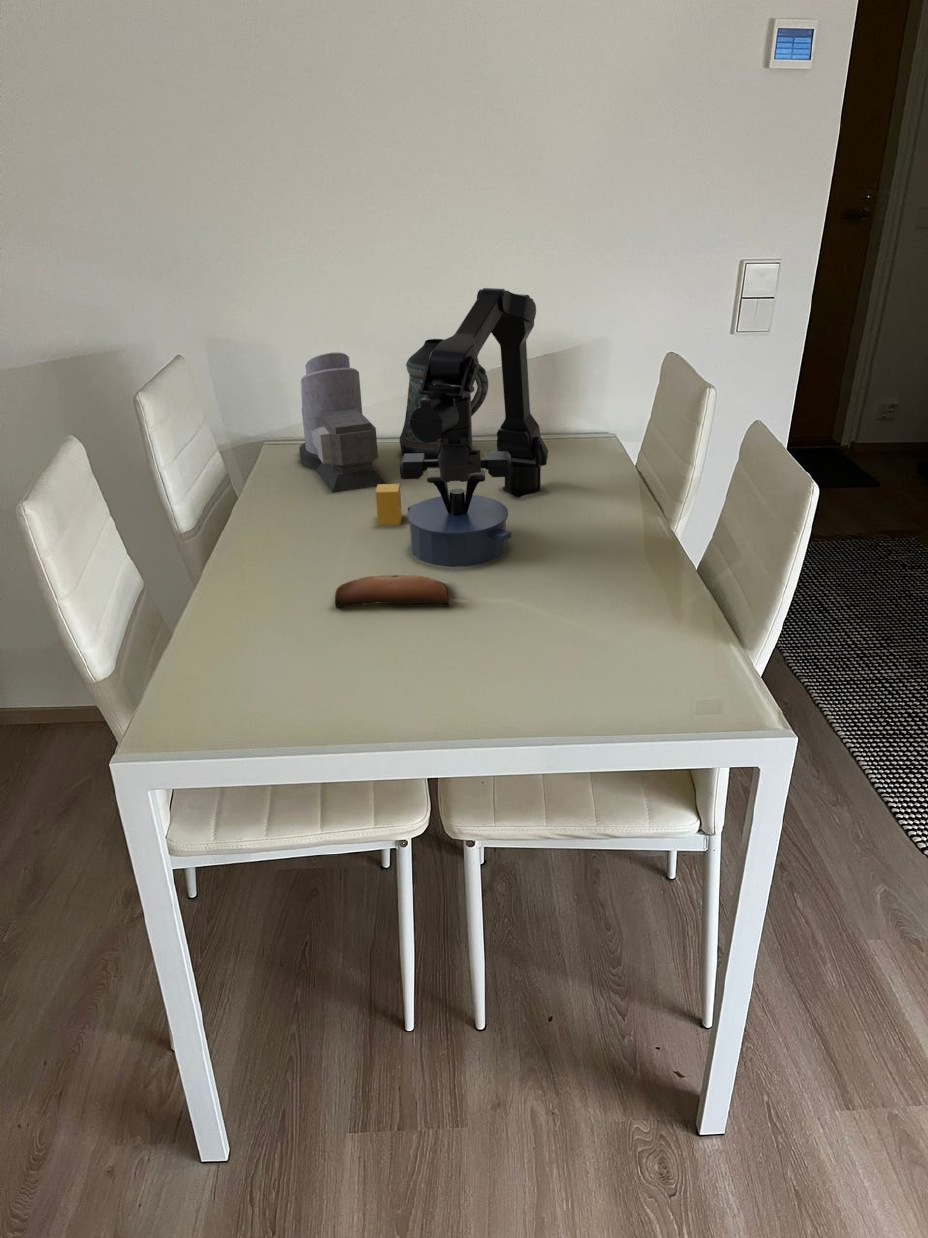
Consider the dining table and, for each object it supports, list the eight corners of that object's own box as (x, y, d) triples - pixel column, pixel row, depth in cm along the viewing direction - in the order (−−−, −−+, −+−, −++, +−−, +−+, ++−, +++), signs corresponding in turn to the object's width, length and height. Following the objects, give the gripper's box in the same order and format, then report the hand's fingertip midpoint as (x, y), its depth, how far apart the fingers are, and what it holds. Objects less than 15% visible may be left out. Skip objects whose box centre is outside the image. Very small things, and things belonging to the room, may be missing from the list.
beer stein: (394, 445, 224) (387, 335, 212) (475, 437, 227) (472, 329, 215) (407, 468, 209) (400, 352, 197) (493, 459, 213) (492, 344, 201)
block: (402, 518, 184) (399, 483, 181) (400, 526, 181) (398, 491, 177) (380, 518, 184) (377, 484, 181) (378, 527, 181) (375, 492, 177)
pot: (443, 520, 183) (442, 488, 180) (536, 549, 170) (536, 515, 167) (381, 549, 172) (379, 515, 169) (475, 582, 159) (474, 546, 156)
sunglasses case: (450, 581, 158) (448, 558, 152) (450, 618, 155) (448, 596, 149) (341, 584, 158) (335, 561, 153) (338, 621, 155) (332, 599, 149)
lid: (453, 493, 179) (452, 467, 176) (528, 514, 169) (528, 487, 166) (386, 522, 167) (384, 494, 165) (462, 547, 157) (462, 518, 155)
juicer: (293, 451, 222) (280, 343, 210) (360, 442, 227) (351, 336, 215) (321, 493, 197) (309, 374, 185) (396, 482, 202) (388, 365, 190)
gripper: (394, 441, 153) (400, 531, 161) (511, 438, 153) (512, 529, 160) (399, 420, 163) (405, 506, 170) (510, 417, 162) (510, 504, 170)
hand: (457, 511), depth 167 cm, fingers closed on lid, 3 cm apart
